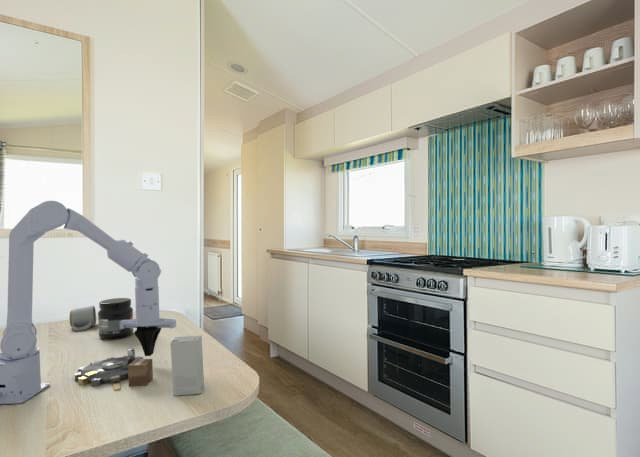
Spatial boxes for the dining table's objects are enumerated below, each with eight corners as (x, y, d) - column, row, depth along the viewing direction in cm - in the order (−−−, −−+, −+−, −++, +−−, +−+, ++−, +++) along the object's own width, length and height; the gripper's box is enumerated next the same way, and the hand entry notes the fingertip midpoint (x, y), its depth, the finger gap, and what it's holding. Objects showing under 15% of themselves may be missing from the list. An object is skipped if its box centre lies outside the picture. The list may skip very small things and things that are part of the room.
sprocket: (131, 384, 92) (130, 365, 92) (60, 387, 92) (59, 368, 92) (157, 359, 109) (157, 343, 109) (97, 361, 108) (97, 345, 108)
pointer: (120, 389, 90) (120, 388, 90) (114, 390, 89) (114, 389, 89) (118, 384, 93) (118, 382, 93) (113, 385, 92) (113, 384, 92)
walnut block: (146, 386, 92) (145, 364, 91) (128, 386, 91) (127, 365, 91) (152, 379, 96) (152, 358, 95) (136, 379, 96) (135, 358, 95)
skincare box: (204, 386, 90) (203, 334, 90) (200, 395, 86) (199, 340, 86) (177, 388, 90) (175, 335, 90) (171, 397, 85) (170, 341, 85)
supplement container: (134, 330, 140) (133, 296, 139) (132, 338, 130) (131, 302, 130) (101, 333, 136) (100, 299, 135) (96, 342, 126) (94, 305, 126)
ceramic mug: (72, 325, 147) (71, 306, 147) (96, 323, 150) (95, 303, 150) (67, 333, 138) (67, 312, 138) (93, 330, 141) (92, 309, 141)
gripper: (180, 300, 108) (181, 349, 108) (129, 301, 109) (130, 349, 109) (168, 306, 101) (170, 358, 101) (114, 306, 102) (116, 358, 102)
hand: (149, 354), depth 105 cm, fingers closed
